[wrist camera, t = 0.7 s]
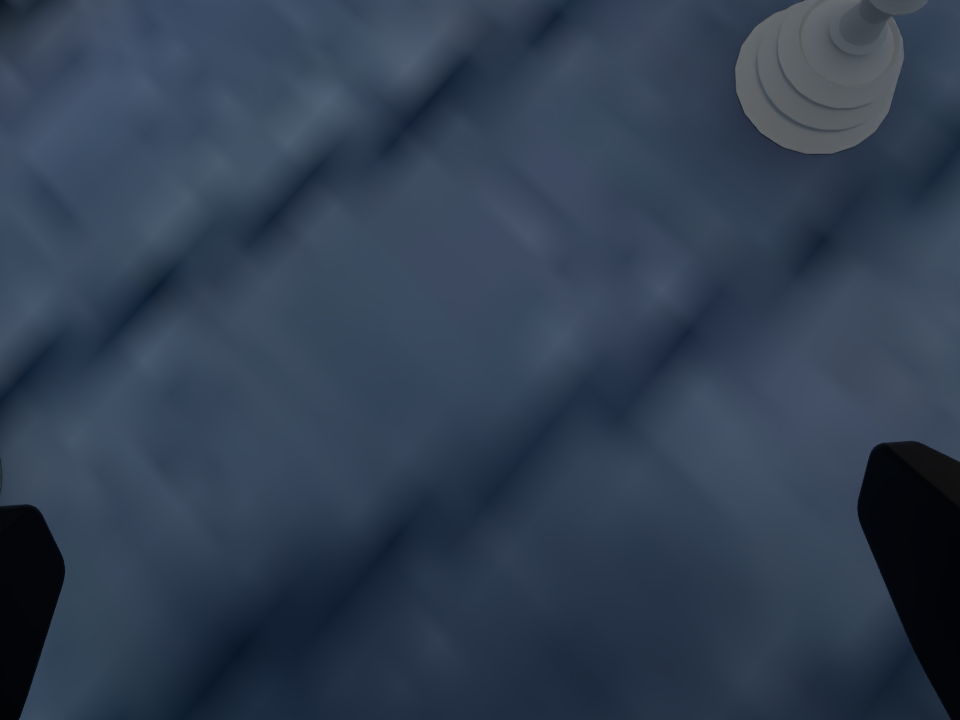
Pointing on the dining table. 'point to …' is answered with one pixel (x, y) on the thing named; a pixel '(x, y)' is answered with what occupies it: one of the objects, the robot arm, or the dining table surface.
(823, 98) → the chalice
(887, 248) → the dining table surface
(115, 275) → the dining table surface
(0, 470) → the pillar candle
